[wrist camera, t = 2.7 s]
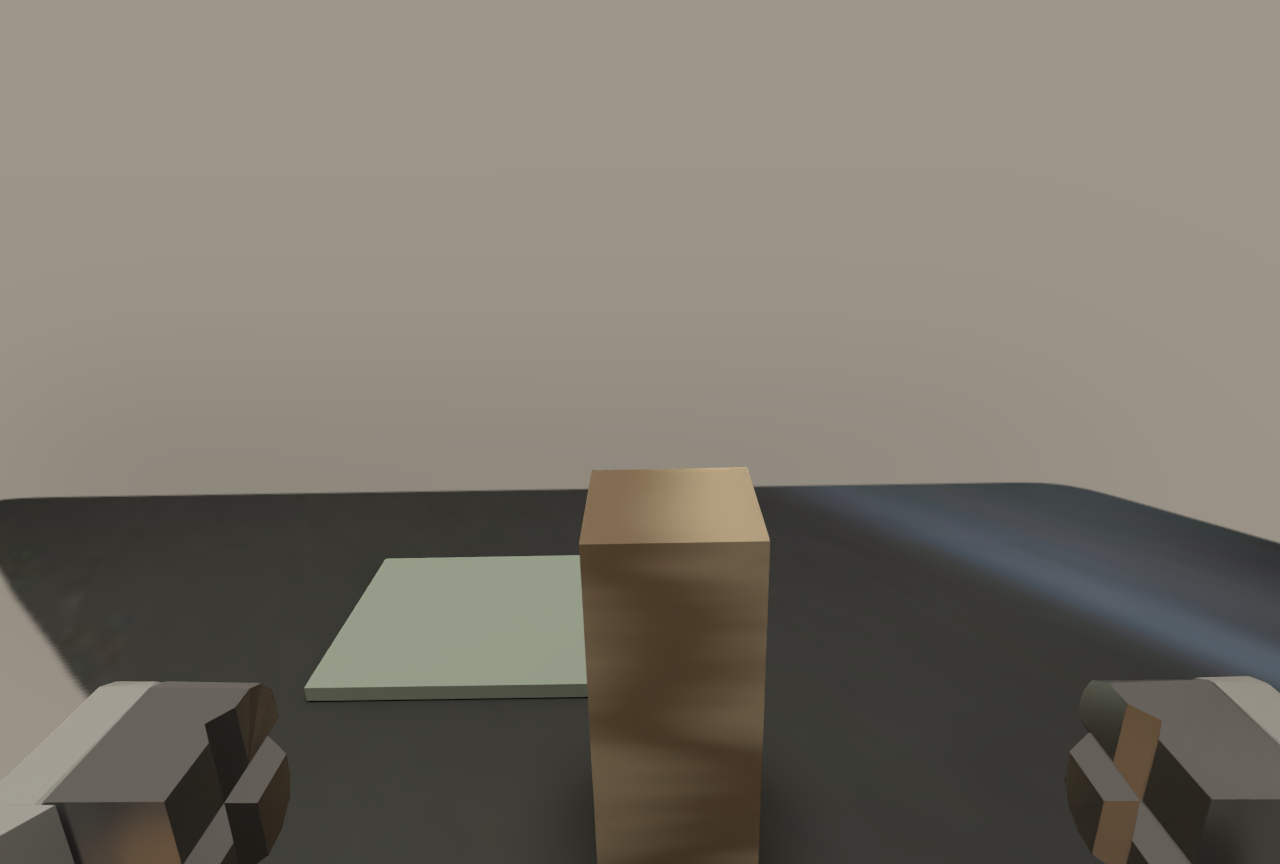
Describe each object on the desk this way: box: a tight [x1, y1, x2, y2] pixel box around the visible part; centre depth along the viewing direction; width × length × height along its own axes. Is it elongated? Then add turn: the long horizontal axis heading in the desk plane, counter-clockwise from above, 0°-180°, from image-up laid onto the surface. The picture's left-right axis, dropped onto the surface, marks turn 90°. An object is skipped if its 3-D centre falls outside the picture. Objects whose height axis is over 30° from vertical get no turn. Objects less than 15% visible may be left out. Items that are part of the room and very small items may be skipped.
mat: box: [304, 555, 588, 701], centre depth 35 cm, size 14×10×1 cm
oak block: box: [579, 467, 770, 864], centre depth 22 cm, size 4×4×11 cm
